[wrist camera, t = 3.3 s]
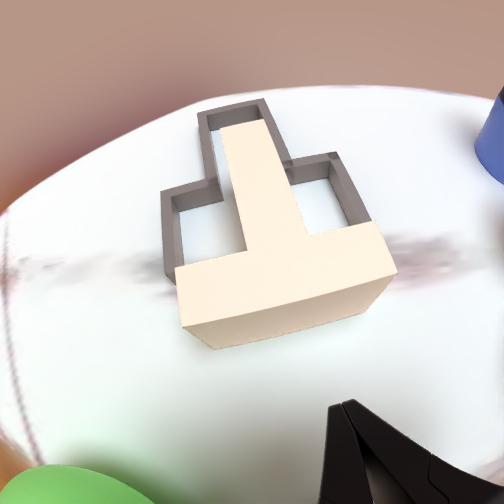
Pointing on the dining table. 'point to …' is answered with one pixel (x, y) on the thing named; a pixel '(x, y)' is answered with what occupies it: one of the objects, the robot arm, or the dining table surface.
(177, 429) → the dining table surface
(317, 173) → the t outline
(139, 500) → the green rounded blob
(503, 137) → the water bottle
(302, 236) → the t block
